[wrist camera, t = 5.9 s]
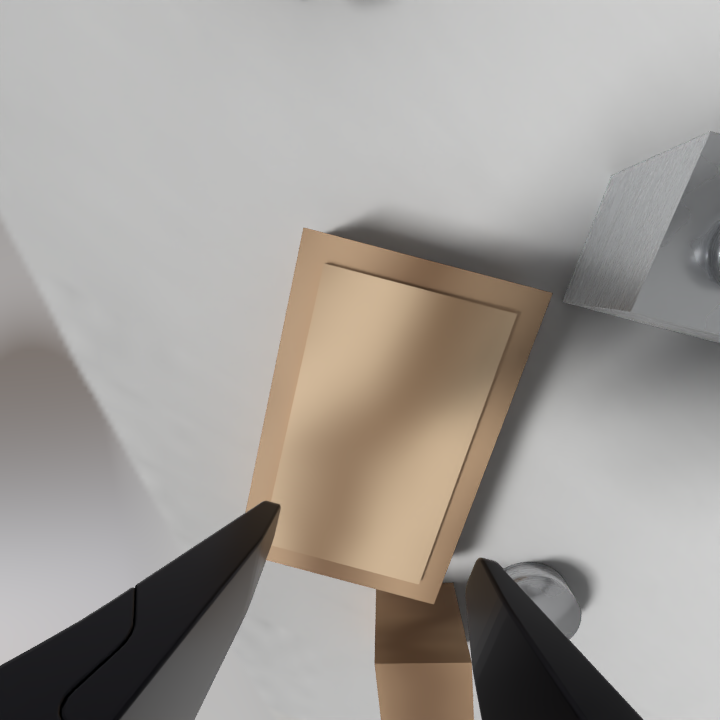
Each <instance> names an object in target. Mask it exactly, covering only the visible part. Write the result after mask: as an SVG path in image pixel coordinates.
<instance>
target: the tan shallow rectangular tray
mask: <svg viewBox="0 0 720 720" xmlns="http://www.w3.org/2000/svg"><path fill="white" fill-rule="evenodd" d="M552 294H553V293H551V292H547V291H543V290H540V289H536V288H532V287H528V286H524V285H520V284H517V283H513V282H509V281H505V280H501V279H498V278H494V277H490V276H486V275H482V274H479V273H475V272H471V271H467V270H463V269H460V268H456V267H452V266H448V265H444V264H441V263H437V262H433V261H429V260H425V259H422V258H418V257H414V256H410V255H406V254H402V253H399V252H395V251H391V250H387V249H383V248H380V247H376V246H372V245H368V244H364V243H361V242H357V241H353V240H349V239H345V238H342V237H338V236H334V235H330V234H326V233H323V232H319V231H315V230H311V229H307V228H303V232H302V237H301V242H300V247H299V252H298V257H297V262H296V267H295V272H294V277H293V282H292V286H291V291H290V296H289V301H288V306H287V311H286V316H285V321H284V326H283V331H282V336H281V341H280V345H279V350H278V355H277V360H276V365H275V370H274V375H273V380H272V385H271V390H270V395H269V400H268V404H267V409H266V414H265V419H264V424H263V429H262V434H261V439H260V444H259V449H258V454H257V458H256V463H255V468H254V473H253V478H252V483H251V488H250V493H249V498H248V503H247V508H246V512H247V511H249V510H250V509H252V508H254V507H255V506H257V505H258V504H260V503H261V502H263V501H270V502H274V503H277V504H280V506H281V510H280V514H279V519H278V523H277V527H276V532H275V536H274V539H273V542H272V545H271V548H270V551H269V553H268V556H267V559H266V560H268V561H272V562H276V563H280V564H284V565H287V566H291V567H295V568H299V569H302V570H306V571H310V572H314V573H317V574H321V575H325V576H329V577H332V578H336V579H340V580H344V581H348V582H351V583H355V584H359V585H363V586H366V587H370V588H374V589H378V590H381V591H385V592H389V593H393V594H396V595H400V596H404V597H408V598H412V599H415V600H419V601H423V602H427V603H430V604H434V603H435V600H436V597H437V595H438V592H439V590H440V587H441V584H442V582H443V579H444V576H445V574H446V571H447V569H448V566H449V563H450V561H451V558H452V556H453V553H454V550H455V548H456V545H457V542H458V540H459V537H460V535H461V532H462V529H463V527H464V524H465V521H466V519H467V516H468V514H469V511H470V508H471V506H472V503H473V501H474V498H475V495H476V493H477V490H478V487H479V485H480V482H481V480H482V477H483V474H484V472H485V469H486V467H487V464H488V461H489V459H490V456H491V453H492V451H493V448H494V446H495V443H496V440H497V438H498V435H499V432H500V430H501V427H502V425H503V422H504V419H505V417H506V414H507V412H508V409H509V406H510V404H511V401H512V398H513V396H514V393H515V391H516V388H517V385H518V383H519V380H520V378H521V375H522V372H523V370H524V367H525V364H526V362H527V359H528V357H529V354H530V351H531V349H532V346H533V343H534V341H535V338H536V336H537V333H538V330H539V328H540V325H541V323H542V320H543V317H544V315H545V312H546V309H547V307H548V304H549V302H550V299H551V296H552Z"/></svg>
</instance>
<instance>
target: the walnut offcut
mask: <svg viewBox="0 0 720 720" xmlns="http://www.w3.org/2000/svg"><path fill="white" fill-rule="evenodd" d="M375 671H376V680H377V688H378V697H379V706H380V714H381V720H474V713H473V686H472V662H471V658H470V653H469V649H468V645H467V640H466V636H465V632H464V627H463V623H462V619H461V614H460V610H459V606H458V601H457V597H456V593H455V588H454V584H453V583H442V584H441V587H440V590H439V592H438V595H437V597H436V600H435V603H434V604H430V603H427V602H423V601H419V600H415V599H412V598H408V597H404V596H400V595H396V594H393V593H389V592H385V591H381V590H378V589H376V624H375Z"/></svg>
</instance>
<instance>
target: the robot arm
mask: <svg viewBox="0 0 720 720" xmlns="http://www.w3.org/2000/svg"><path fill="white" fill-rule="evenodd" d="M280 510H281V506H280V504H277V503H274V502H270V501H263V502H261V503H260V504H258V505H257V506H255V507H254V508H252V509H250V510H249V511H247V512H246V513H244V514H243V515H241V516H240V517H238V518H237V519H235V520H234V521H232V522H231V523H229V524H228V525H226V526H225V527H223V528H222V529H220V530H219V531H217V532H216V533H214V534H213V535H211V536H210V537H208V538H206V539H205V540H203V541H202V542H200V543H199V544H197V545H196V546H194V547H193V548H191V549H190V550H188V551H187V552H185V553H184V554H182V555H181V556H179V557H178V558H176V559H175V560H173V561H172V562H170V563H169V564H167V565H166V566H164V567H163V568H161V569H159V570H158V571H156V572H155V573H153V574H152V575H150V576H149V577H147V578H146V579H144V580H143V581H141V582H140V583H138V584H137V585H136V586H135V588H130V589H129V590H127V591H126V592H124V593H123V594H121V595H120V596H118V597H117V598H115V599H114V600H112V601H111V602H109V603H107V604H106V605H104V606H103V607H101V608H99V609H98V610H96V611H95V612H93V613H91V614H90V615H88V616H87V617H85V618H83V619H82V620H81V621H79V622H77V623H75V624H73V625H72V626H70V627H69V628H66V629H65V630H63V631H61V632H59V633H58V634H56V635H54V636H53V637H51V638H49V639H47V640H46V641H44V642H42V643H40V644H39V645H37V646H35V647H33V648H31V649H30V650H28V651H26V652H24V653H22V654H21V655H19V656H17V657H15V658H13V659H12V660H10V661H8V662H6V663H4V664H2V665H1V666H0V720H194V719H195V717H196V715H197V713H198V711H199V709H200V707H201V705H202V703H203V701H204V699H205V697H206V695H207V693H208V691H209V689H210V687H211V685H212V682H213V681H214V678H215V676H216V674H217V672H218V670H219V668H220V666H221V664H222V662H223V660H224V658H225V656H226V654H227V652H228V650H229V648H230V646H231V644H232V642H233V640H234V638H235V636H236V633H237V631H238V629H239V627H240V625H241V623H242V621H243V619H244V617H245V615H246V612H247V610H248V608H249V605H250V603H251V600H252V597H253V595H254V592H255V589H256V586H257V584H258V581H259V578H260V575H261V573H262V570H263V567H264V564H265V562H266V559H267V556H268V553H269V551H270V548H271V545H272V542H273V539H274V536H275V532H276V527H277V523H278V519H279V514H280ZM465 595H466V606H467V617H468V627H469V638H470V648H471V658H472V667H473V674H474V680H475V686H476V691H477V696H478V702H479V707H480V712H481V718H482V720H643V719H642V718H641V717H640V715H639V714H638V713H637V712H636V711H635V710H634V709H633V708H632V707H631V706H630V705H629V704H628V703H627V701H626V700H625V699H624V698H623V697H622V696H621V695H620V694H619V693H618V692H617V691H616V690H615V689H614V687H613V686H612V685H611V684H610V683H609V682H608V681H607V680H606V679H605V678H604V677H603V676H602V675H601V673H600V672H599V671H598V670H597V669H596V668H595V667H594V666H593V665H592V664H591V663H590V662H589V661H588V660H587V658H586V657H585V656H584V655H583V654H582V653H581V652H580V651H579V650H578V649H577V648H576V647H575V646H574V644H573V643H572V642H571V641H570V640H569V639H568V638H567V637H566V636H565V635H564V634H563V633H562V632H561V630H560V629H559V628H558V627H557V626H556V625H555V624H554V623H553V622H552V621H551V620H550V619H549V618H548V617H547V615H546V614H545V613H544V612H543V611H542V610H541V609H540V608H539V607H538V606H537V605H536V604H535V603H534V601H533V600H532V599H531V598H530V597H529V596H528V595H527V594H526V593H525V592H524V591H523V590H522V589H521V587H520V586H519V585H518V584H517V583H516V582H515V581H514V580H513V579H512V578H511V577H510V576H509V575H508V574H507V572H506V571H505V570H504V569H503V568H502V567H501V566H500V565H499V564H498V563H497V562H495V561H492V560H488V559H485V558H479V559H477V561H476V563H475V565H474V567H473V570H472V572H471V575H470V577H469V580H468V582H467V585H466V593H465Z"/></svg>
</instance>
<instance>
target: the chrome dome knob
mask: <svg viewBox="0 0 720 720" xmlns="http://www.w3.org/2000/svg"><path fill="white" fill-rule="evenodd" d="M504 570H505V571H506V572H507V574H508V575H509V576H510V577H511V578H512V579H513V580H514V581H515V582H516V583H517V584H518V585H519V586H520V587H521V589H522V590H523V591H524V592H525V593H526V594H527V595H528V596H529V597H530V598H531V599H532V600H533V601H534V603H535V604H536V605H537V606H538V607H539V608H540V609H541V610H542V611H543V612H544V613H545V614H546V615H547V617H548V618H549V619H550V620H551V621H552V622H553V623H554V624H555V625H556V626H557V627H558V628H559V629H560V630H561V632H562V633H563V634H564V635H565V636H566V637H567V638H568V639H570V638H571V637H572V636H573V635H574V634H575V633H576V631H577V630H578V628H579V625H580V622H581V610H580V606H579V604H578V602H577V601H576V599H575V597H574V596H573V594H572V592H571V591H570V589H569V587H568V586H567V584H566V582H565V581H564V579H563V577H562V576H561V575H560V574H559V573H558V572H557V571H556V570H554V569H553V568H551V567H549V566H547V565H544V564H541V563H536V562H523V563H517V564H514V565H511V566H509V567H507V568H505V569H504Z"/></svg>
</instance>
